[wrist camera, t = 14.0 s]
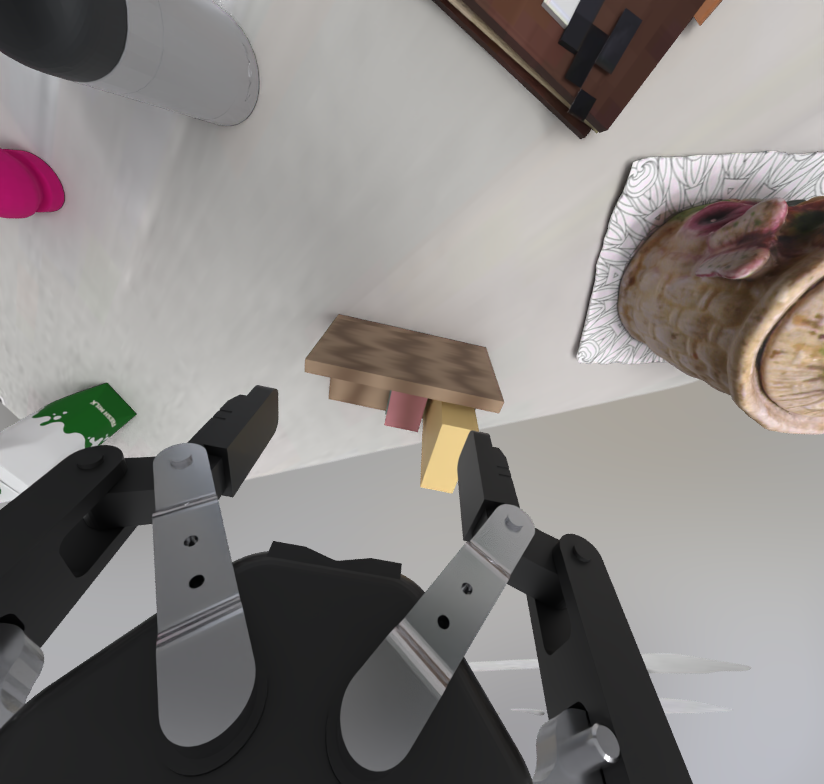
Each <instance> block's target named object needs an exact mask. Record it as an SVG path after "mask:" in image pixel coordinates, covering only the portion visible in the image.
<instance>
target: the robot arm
mask: <svg viewBox="0 0 824 784" xmlns="http://www.w3.org/2000/svg"><path fill="white" fill-rule="evenodd" d="M0 51H1V52H2V53H4V54H5V55H7V56H8V57H10V58H12V59H14V60H16V61H18V62H19V63H21V64H23V65H25V66H28V67H30V68H32V69H35V70H38V71H40V72H43V73H46V74H49V75H53V76H56V77H59V78H63V79H66V80H70V81H73V82H76V83H80V84H83V85H86V86H90V87H93V88H97V89H100V90H103V91H107V92H111V93H114V94H117V95H121V96H124V97H127V98H131V99H134V100H138V101H141V102H144V103H148V104H151V105H154V106H158V107H161V108H164V109H168V110H171V111H174V112H178V113H181V114H184V115H188V116H191V117H194V118H197V119H200V120H204V121H207V122H211V123H214V124H218V125H222V126H232V125H236V124H239V123H240V122H242V121H244V120H245V119H246V118H247V117H248V116H249V115H250V113H251V112H252V110H253V108H254V106H255V104H256V101H257V97H258V92H259V75H258V67H257V63H256V59H255V55H254V52H253V50H252V48H251V45H250V43H249V41H248V39H247V37H246V36H245V34H244V32H243V30H242V29H241V28H240V26H239V25H238V24H237V23H236V22H235V20H234V19H233V18H232V17H231V16H230V15H228V14H227V13H226V12H225V11H224V10H223V9H222V8H220V7H219V6H218V5H217V4H216V3H215V2H214V1H212V0H0ZM277 425H278V390H277V389H274V388H269V387H264V386H259V385H257V386H255V387H254V388H253V389H252V390H251V392H250V393H249V394H248V395H247V396H245V395H238V396H236V397H234V398H232V399H230V400H228V401H227V402H226V403H225V404H224V405H223V406H222V407H221V408H220V411H218V412H217V413H216V414H215V415H214V416H213V418H211V419H210V420H209V421H208V422H207V423H206V424H205V425H204V426H203V427H202V428H201V429H200V430H199V431H198V432H197V433H196V434H195V435H194V436H193V437H192V439H191V440H190V441H189V442H188V443H182V444H177V445H173V446H170V447H168V448H166V449H164V450H163V451H161V452H160V453H159V454H158V455H157V456H156V457H141V458H124V456H123V453H122V451H121V450H120V449H119V448H117V447H114V446H109V445H99V446H92V447H88V448H84V449H81V450H79V451H76V452H74V453H72V454H71V455H69V456H67V457H66V458H65V459H63V460H62V461H61V462H60V463H58V464H57V465H56V466H55V467H53V468H52V469H51V470H50V471H48V472H47V473H46V474H45V475H43V476H42V477H41V478H40V479H38V480H37V481H36V482H35V483H33V484H32V485H31V486H30V487H28V488H27V489H26V490H25V491H23V492H22V493H21V494H20V495H18V496H17V497H16V498H15V499H13V500H12V501H11V502H10V503H8V504H7V505H6V506H5V507H3V508H2V509H1V510H0V784H693V783H692V780H691V778H690V775H689V773H688V770H687V768H686V765H685V763H684V760H683V758H682V755H681V753H680V750H679V748H678V746H677V743H676V741H675V738H674V736H673V733H672V731H671V728H670V726H669V723H668V721H667V718H666V716H665V713H664V711H663V708H662V706H661V703H660V701H659V698H658V696H657V693H656V691H655V689H654V686H653V684H652V681H651V679H650V676H649V674H648V671H647V669H646V666H645V664H644V661H643V659H642V656H641V654H640V652H639V649H638V647H637V644H636V642H635V639H634V637H633V634H632V632H631V629H630V627H629V624H628V622H627V619H626V617H625V614H624V612H623V609H622V607H621V604H620V602H619V599H618V597H617V595H616V592H615V589H614V587H613V585H612V582H611V580H610V577H609V575H608V572H607V570H606V567H605V565H604V562H603V560H602V558H601V556H600V554H599V552H598V551H597V550H596V548H595V547H594V546H593V545H592V544H591V543H589V542H588V541H587V540H586V539H584V538H582V537H580V536H578V535H575V534H566V535H564V536H562V537H561V539H560V540H558V539H556V538H554V537H552V536H550V535H548V534H546V533H544V532H542V531H540V530H538V529H536V528H535V526H534V523H533V521H532V520H531V518H530V517H529V515H528V514H527V513H526V512H524V511H523V510H522V509H520V507H519V503H518V499H517V496H516V492H515V488H514V485H513V481H512V478H511V474H510V471H509V466H508V463H507V459H506V457H505V456H504V454H503V453H502V452H501V450H500V449H499V448H496V447H492V443H491V439H490V435H489V434H488V433H483V432H478V431H473V430H471V431H470V432H469V434H468V436H467V439H466V441H465V444H464V446H463V449H462V451H461V454H460V456H459V460H458V465H457V474H458V485H459V497H460V507H461V520H462V531H463V540H464V541H467V542H466V543H465V544H464V546H463V547H462V548H461V549H460V550H459V552H458V553H457V554H456V556H455V557H454V558H453V559H452V560H451V561H450V563H449V564H448V565H447V566H446V568H445V569H444V570H443V571H442V572H441V574H440V575H439V576H438V577H437V579H436V580H435V581H434V582H433V584H432V585H431V586H430V587H429V588H428V590H427V591H426V592H424V591H423V590H422V589H421V588H420V587H419V586H418V585H417V584H416V583H415V582H413V581H412V580H410V579H409V578H407V577H406V576H404V575H402V574H401V565H402V564H401V563H395V562H390V561H384V560H378V559H372V558H367V559H355V560H343V561H335V560H333V559H331V558H328V557H326V556H324V555H322V554H320V553H318V552H316V551H314V550H311V549H309V548H307V547H304V546H298V545H293V544H287V543H281V542H276V541H273V543H272V545H271V547H270V550H269V551H267V552H260V553H255V554H252V555H248V556H245V557H243V558H241V559H238V560H236V561H234V562H232V560H231V556H230V551H229V546H228V542H227V538H226V533H225V529H224V525H223V519H222V515H221V510H220V506H219V501H218V500H219V498H220V497H221V495H223V496H229V497H234V495H235V494H236V492H237V491H238V489H239V487H240V486H241V484H242V483H243V481H244V480H245V478H246V477H247V475H248V474H249V472H250V470H251V469H252V467H253V466H254V464H255V463H256V461H257V460H258V458H259V457H260V455H261V453H262V452H263V450H264V449H265V447H266V446H267V444H268V443H269V441H270V440H271V438H272V436H273V435H274V433H275V431H276V428H277ZM146 524H153V543H154V564H155V583H156V604H157V613H156V614H154V615H153V616H151V617H150V618H148V619H147V620H145V621H144V622H143V623H141V624H140V625H138V626H137V627H135V628H134V629H132V630H131V631H129V632H128V633H126V634H125V635H123V636H122V637H120V638H119V639H117V640H116V641H114V642H113V643H111V644H110V645H108V646H107V647H105V648H104V649H102V650H101V651H100V652H98V653H97V654H95V655H94V656H92V657H91V658H89V659H88V660H86V661H85V662H83V663H82V664H80V665H79V666H77V667H76V668H74V669H73V670H71V671H70V672H68V673H67V674H66V675H64V676H62V677H61V678H60V679H58V680H57V681H55V682H54V683H52V684H51V685H49V686H48V687H46V688H45V689H44V690H42V691H41V692H40V693H38V694H37V695H36V696H34V697H33V698H32V699H31V700H29V701H28V702H27V703H26V704H25V702H26V699H27V696H28V695H29V693H30V691H31V689H32V686H33V685H34V683H35V681H36V680H37V678H38V677H39V675H40V673H41V670H42V668H43V664H44V654H43V652H42V650H41V649H40V648H41V647H42V645H43V644H44V643H45V642H46V640H47V639H48V638H49V637H50V635H51V634H52V633H53V631H54V630H55V629H56V628H57V626H58V625H59V624H60V623H61V621H62V620H63V619H64V618H65V616H66V615H67V614H68V613H69V611H70V610H71V609H72V608H73V606H74V605H75V604H76V603H77V601H78V600H79V599H80V598H81V596H82V595H83V594H84V593H85V591H86V590H87V589H88V588H89V586H90V585H91V584H92V582H93V581H94V580H95V579H96V577H97V576H98V575H99V574H100V572H101V571H102V570H103V569H104V567H105V566H106V565H107V564H108V562H109V561H110V560H111V558H112V557H113V556H114V555H115V553H116V552H117V551H118V550H119V548H120V547H121V546H122V545H123V543H124V542H125V541H126V539H127V538H128V537H129V536H130V534H131V533H132V532H133V531H134V530H135V528H136V527H137V526H138V525H146ZM506 584H508V585H510V586H512V587H514V588H516V589H518V590H519V591H521V592H523V593H525V594H526V595H527V601H528V606H529V611H530V617H531V623H532V629H533V634H534V639H535V645H536V651H537V657H538V662H539V668H540V674H541V679H542V684H543V690H544V696H545V702H546V707H547V713H548V718H549V721H548V722H546V723H545V724H543V725H542V727H541V728H540V730H539V732H538V735H537V741H536V753H537V763H536V770H535V774H534V777H533V779H532V778H531V776H530V773H529V771H528V768H527V766H526V764H525V761H524V759H523V758H522V755H521V754H520V752H519V750H518V748H517V747H516V745H515V743H514V742H513V740H512V738H511V736H510V735H509V733H508V731H507V730H506V728H505V726H504V724H503V723H502V721H501V719H500V718H499V716H498V714H497V713H496V711H495V709H494V707H493V706H492V704H491V702H490V701H489V699H488V697H487V695H486V694H485V692H484V690H483V689H482V687H481V685H480V683H479V682H478V680H477V679H476V677H475V675H474V673H473V671H472V670H471V668H470V666H469V665H468V663H467V661H466V659H465V658H464V655H465V654H466V652H467V650H468V649H469V647H470V645H471V643H472V642H473V640H474V638H475V637H476V635H477V633H478V632H479V630H480V628H481V626H482V625H483V623H484V621H485V620H486V618H487V616H488V615H489V613H490V611H491V609H492V607H493V606H494V604H495V602H496V601H497V599H498V598H499V596H500V594H501V592H502V591H503V589H504V587H505V586H506Z"/></svg>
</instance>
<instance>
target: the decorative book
mask: <svg viewBox="0 0 824 784" xmlns="http://www.w3.org/2000/svg"><path fill="white" fill-rule="evenodd" d="M432 1H434V2H435V3H436V4H437V5H438V6H439V7H440V8H441V9H442V10H443V11H444V12H445V13H446V14H447V15H448V16H450V17H451V18H452V19H453V20H454V21H455V22H456V23H457V24H458V25H459V26H460V27H461V28H462V29H463V30H465V31H466V32H467V33H468V34H469V35H470V36H471V37H472V38H473V39H474V40H475V41H476V42H477V43H478V44H479V45H481V46H482V47H483V48H484V49H485V50H486V51H487V52H488V53H489V54H490V55H491V56H492V57H493V58H494V59H496V60H497V61H498V62H499V63H500V64H501V65H502V66H503V67H504V68H505V69H506V70H507V71H508V72H509V73H510V74H512V75H513V76H514V77H515V78H516V79H517V80H518V81H519V82H520V83H521V84H522V85H523V86H524V87H525V88H527V89H528V90H529V91H530V92H531V93H532V94H533V95H534V96H535V97H536V98H537V99H538V100H539V101H540V102H542V103H543V104H544V105H545V106H546V107H547V108H548V109H549V110H550V111H551V112H552V113H553V114H554V115H555V116H556V117H558V118H559V119H560V120H561V121H562V122H563V123H564V124H565V125H566V126H567V127H568V128H569V129H570V130H571V131H573V132H574V133H575V134H576V135H577V136H578V137H579V138H580V139H582V138H585V137H586V136H587V134H588V133H589V132H590V130H591V129H592V130H594V131H595V132H596V133H598V132H599V133H600V132H603V131H606V130H608V129H609V127H610V126H611V125H612V123H613V122H614V121H615V119H616V118H617V117H618V115H619V114H620V113H621V112H622V110H623V109H624V108H625V106H626V105H627V104H628V102H629V101H630V100H631V98H632V97H633V96H634V94H635V93H636V92H637V90H638V89H639V88H640V86H641V85H642V84H643V82H644V81H645V80H646V78H647V77H648V76H649V75H650V73H651V72H652V71H653V69H654V68H655V67H656V65H657V64H658V63H659V61H660V60H661V59H662V57H663V56H664V55H665V53H666V52H667V51H668V49H669V48H670V47H671V45H672V44H673V43H674V42H675V40H676V39H677V38H678V36H679V35H680V34H681V32H682V31H683V30H684V28H685V27H686V26H687V24H688V23H689V22H690V20H691V19H692V18H693V16H694V18H695V19H696V21H697V22H698V24H699V26H701V25H702V24H703V22H704V21H705V20H706V19H707V18H708V17H709V15H710V14H711V13H712V12H713V11H714V10H715V8H716V7H717V6H718V5H719V4H720V3H721V2H722V0H432Z"/></svg>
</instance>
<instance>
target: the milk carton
mask: <svg viewBox="0 0 824 784" xmlns="http://www.w3.org/2000/svg"><path fill="white" fill-rule="evenodd" d="M135 415H137V414H136V413H135V412H134V411H133V410H132V409H131V408H130V407H129V406H128V404H127V403H126V402H125V401H124V400H123V399H122V398H121V397H120V396H119V395H118V394H117V393H116V392H115V391H114V390H113V389H112V388H111V386H110V385H109V384H108V383H105V384H102V385H99V386H96V387H93V388H90V389H87V390H84V391H81V392H78V393H75V394H72V395H70V396H67V397H64V398H62V399H59V400H57V401H54V402H52V403H50V404H48V405H46V406H45V407H43V408H41V409H39V410H37V411H36V412H34V413H32V414H30V415H29V416H27V417H25V418H23V419H21V420H20V421H18V422H16V423H14V424H12V425H11V426H9V427H7V428H5V429H4V430H2V431H0V503H2V502H7V501H11V500H13V499H15V498H16V497H17V496H18V495H20V494H21V493H22V492H23V491H25V490H26V489H27V488H28V487H30V486H31V485H32V484H33V483H35V482H36V481H37V480H38V479H40V478H41V477H42V476H43V475H45V474H46V473H47V472H48V471H50V470H51V469H52V468H53V467H55V466H56V465H57V464H58V463H60V462H61V461H62V460H63V459H65V458H66V457H67V456H69V455H71V454H72V453H74V452H76V451H79V450H81V449H84V448H88V447H92V446H99V445H100V444H102V443H103V442H104V441H105V440H107V439H108V438H109V437H110V436H112V435H113V434H114V433H115V432H116V431H118V430H119V429H120V428H121V427H122V426H123V425H125V424H126V423H127V422H128V421H129V420H131V419H132V418H133V417H134V416H135Z"/></svg>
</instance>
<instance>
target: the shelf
mask: <svg viewBox="0 0 824 784" xmlns="http://www.w3.org/2000/svg"><path fill="white" fill-rule="evenodd" d="M305 372H307V373H312V374H316V375H321V376H326V377H330V389H329V399H332V400H336V401H341V402H346V403H351V404H356V405H361V406H365V407H370V408H375V409H380V410H385V411H386V413H385V414H386V419H385V424H384V425H386V426H391V427H396V428H401V429H405V430H410V431H415V432H418V429H419V426H420V422H421V419H422V418H423V412H424V409H425V405H426V402H427V399H428V398H429V399H434V400H438V401H443V402H448V403H453V404H457V405H462V406H467V407H471V408H475V409H481V410H485V411H490V412H495V413H499V412H500V410H501V408H502V406H503V404H504V400H503V397H502V394H501V391H500V388H499V385H498V382H497V379H496V376H495V373H494V370H493V367H492V364H491V361H490V358H489V355H488V352H487V349H486V347H482V346H477V345H473V344H468V343H464V342H460V341H455V340H451V339H446V338H442V337H437V336H433V335H429V334H424V333H420V332H415V331H411V330H407V329H402V328H398V327H393V326H389V325H385V324H380V323H376V322H371V321H367V320H362V319H358V318H354V317H349V316H345V315H340V314H339V315H338V316H337V317H336V319H335V320H334V321H333V323H332V324H331V325H330V327H329V328H328V329H327V331H326V332H325V333H324V335H323V336H322V337H321V339H320V340H319V341H318V343H317V344H316V345H315V347H314V348H313V349H312V351H311V352H310V353H309V355H308V356H307V357H306V359H305Z"/></svg>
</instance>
